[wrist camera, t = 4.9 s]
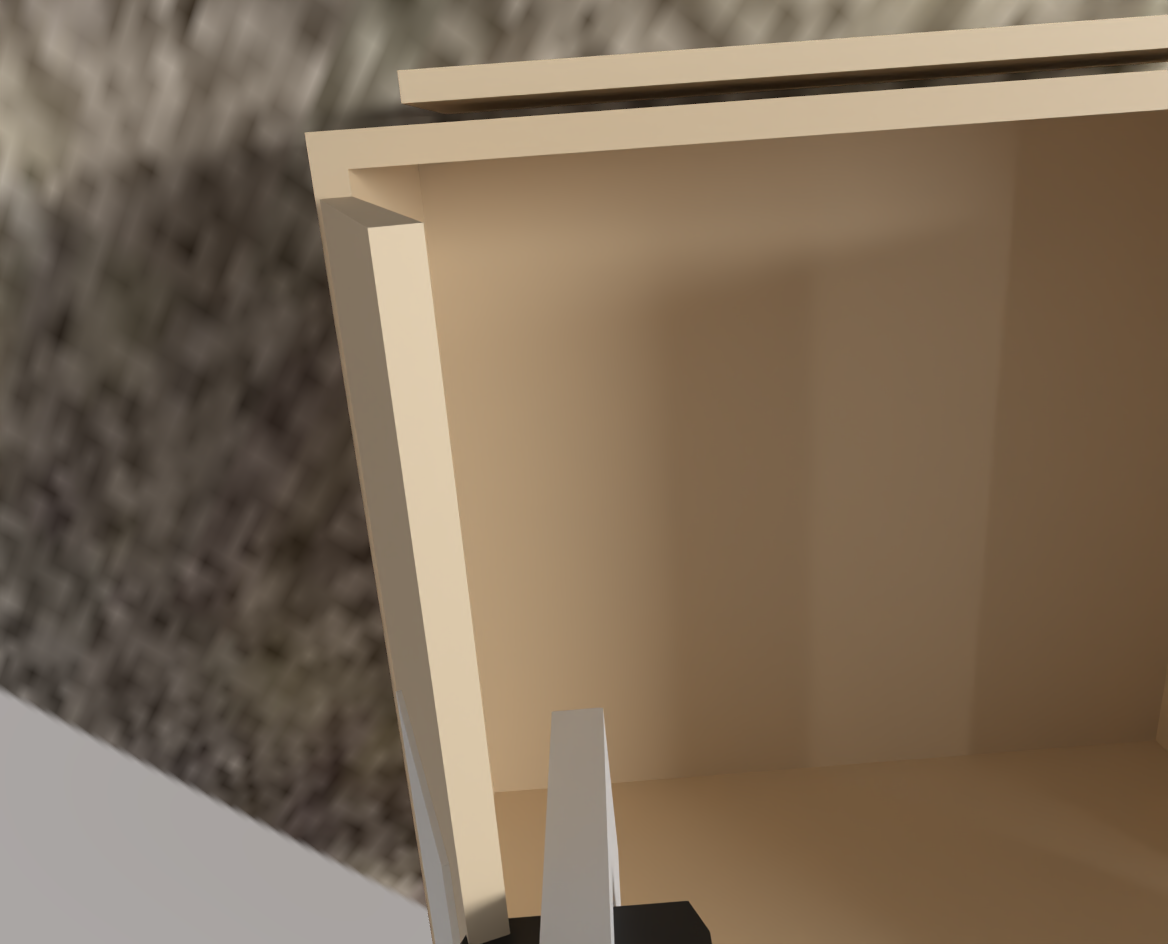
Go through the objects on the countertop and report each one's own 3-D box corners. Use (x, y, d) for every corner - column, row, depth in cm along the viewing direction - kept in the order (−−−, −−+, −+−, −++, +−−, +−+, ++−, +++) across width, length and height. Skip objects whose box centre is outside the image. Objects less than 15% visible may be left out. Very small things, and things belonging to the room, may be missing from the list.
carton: (388, 98, 23) (295, 74, 15) (1274, 34, 23) (1686, -27, 15) (481, 819, 30) (454, 1081, 22) (1156, 765, 31) (1389, 1005, 22)
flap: (313, 199, 15) (355, 228, 8) (352, 196, 15) (424, 222, 9) (447, 1048, 21) (532, 1439, 14) (474, 1039, 21) (569, 1421, 15)
